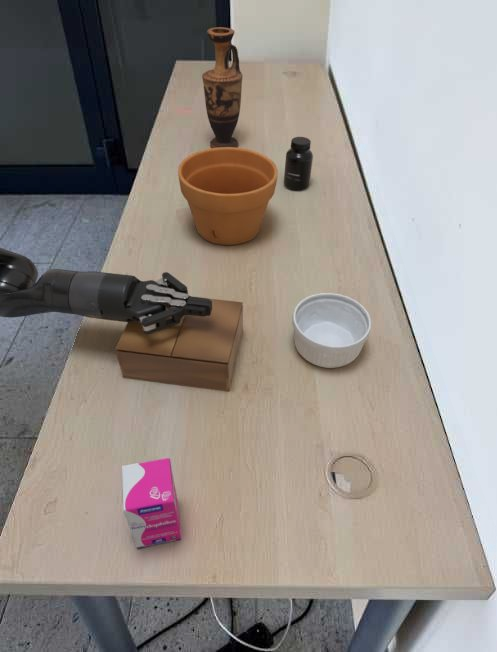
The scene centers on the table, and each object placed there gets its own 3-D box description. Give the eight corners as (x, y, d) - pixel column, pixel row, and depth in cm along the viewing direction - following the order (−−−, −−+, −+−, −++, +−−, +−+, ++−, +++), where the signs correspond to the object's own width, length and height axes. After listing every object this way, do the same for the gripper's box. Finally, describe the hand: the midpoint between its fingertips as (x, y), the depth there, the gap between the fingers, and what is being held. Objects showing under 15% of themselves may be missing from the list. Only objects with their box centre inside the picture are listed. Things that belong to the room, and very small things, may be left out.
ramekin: (364, 379, 81) (372, 351, 76) (286, 369, 82) (289, 341, 78) (363, 325, 90) (370, 296, 85) (293, 316, 92) (296, 288, 87)
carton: (229, 391, 79) (228, 362, 74) (122, 377, 81) (114, 348, 76) (242, 331, 89) (243, 302, 84) (147, 320, 91) (142, 290, 86)
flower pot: (292, 227, 113) (298, 167, 103) (230, 267, 102) (229, 205, 92) (227, 195, 123) (226, 138, 113) (164, 229, 112) (156, 169, 102)
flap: (170, 356, 75) (170, 355, 75) (115, 349, 76) (115, 348, 76) (191, 297, 85) (191, 296, 85) (142, 292, 86) (142, 291, 86)
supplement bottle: (287, 192, 125) (290, 147, 116) (280, 180, 130) (283, 135, 121) (312, 190, 126) (318, 145, 117) (305, 177, 131) (309, 133, 122)
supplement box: (136, 551, 61) (120, 510, 53) (134, 506, 65) (119, 462, 57) (182, 542, 62) (174, 500, 54) (178, 498, 66) (169, 454, 58)
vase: (213, 156, 139) (208, 38, 118) (200, 141, 146) (194, 27, 125) (248, 150, 142) (249, 34, 121) (234, 135, 149) (233, 23, 128)
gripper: (123, 287, 85) (220, 298, 83) (95, 341, 76) (203, 355, 74) (115, 252, 80) (218, 263, 78) (84, 306, 71) (200, 319, 69)
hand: (211, 308), depth 76 cm, fingers closed
